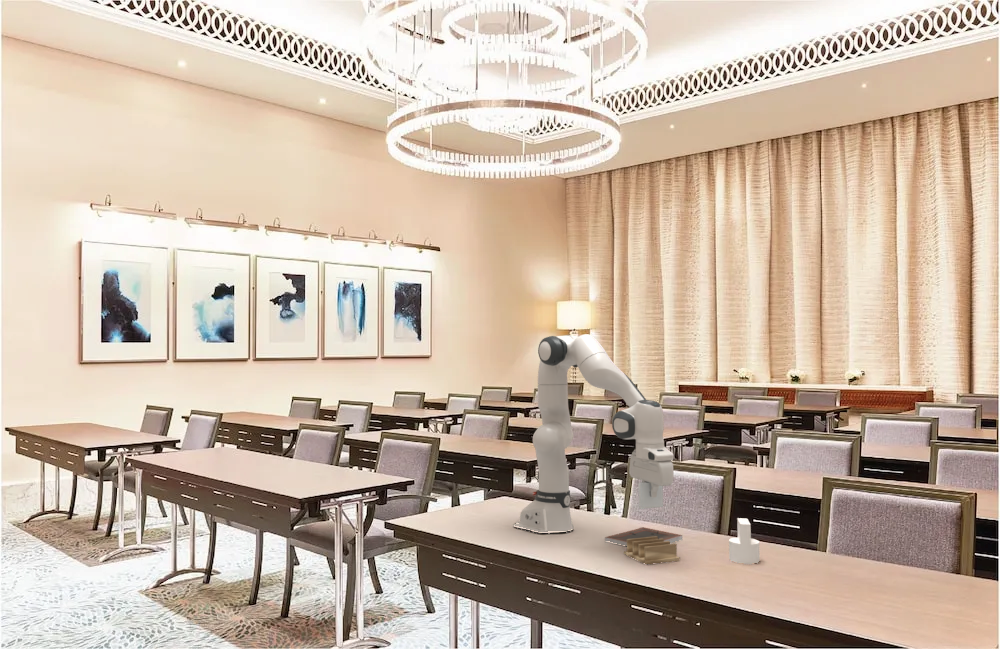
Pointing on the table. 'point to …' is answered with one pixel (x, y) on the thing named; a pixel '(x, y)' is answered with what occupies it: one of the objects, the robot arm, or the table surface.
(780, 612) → the table surface
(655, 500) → the grey block
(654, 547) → the rack
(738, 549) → the cylinder with rectangular tab
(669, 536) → the picture frame
